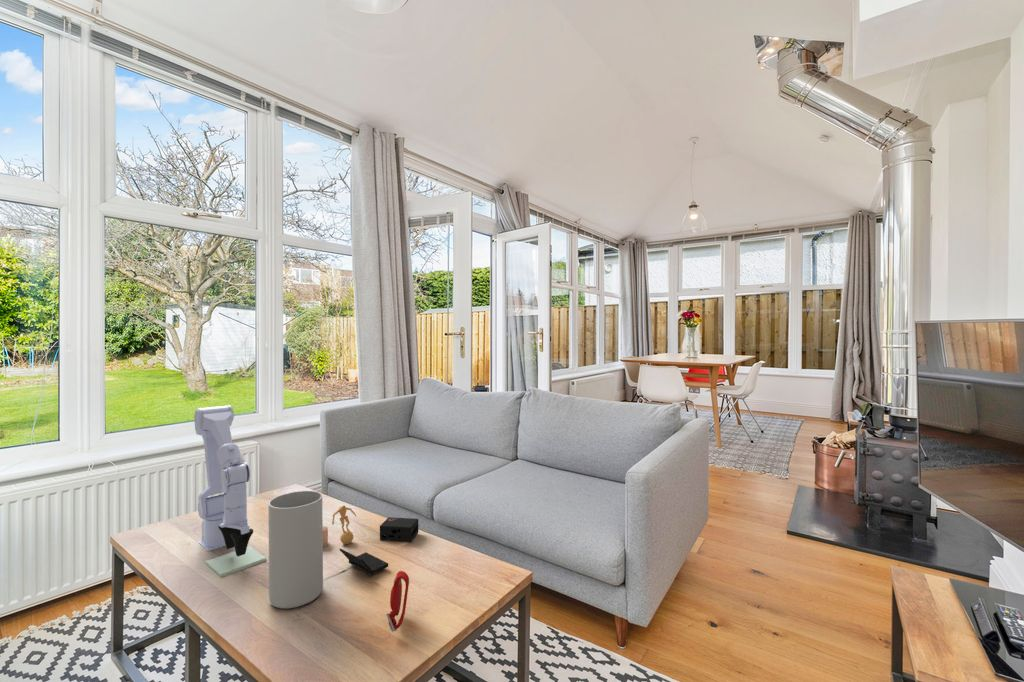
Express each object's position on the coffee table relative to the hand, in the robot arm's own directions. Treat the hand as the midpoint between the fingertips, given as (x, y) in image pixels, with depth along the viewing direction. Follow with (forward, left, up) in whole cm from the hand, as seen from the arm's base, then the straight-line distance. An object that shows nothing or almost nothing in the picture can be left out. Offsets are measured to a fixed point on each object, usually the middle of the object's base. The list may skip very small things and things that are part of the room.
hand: (235, 551), depth 131 cm
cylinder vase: (+31, +3, -4) cm, 31 cm away
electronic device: (+24, +41, -4) cm, 48 cm away
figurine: (+14, +27, -4) cm, 31 cm away
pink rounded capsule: (+9, +21, -3) cm, 23 cm away
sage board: (0, 0, -3) cm, 3 cm away
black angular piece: (+33, +24, -4) cm, 41 cm away
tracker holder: (+60, +13, -4) cm, 62 cm away
